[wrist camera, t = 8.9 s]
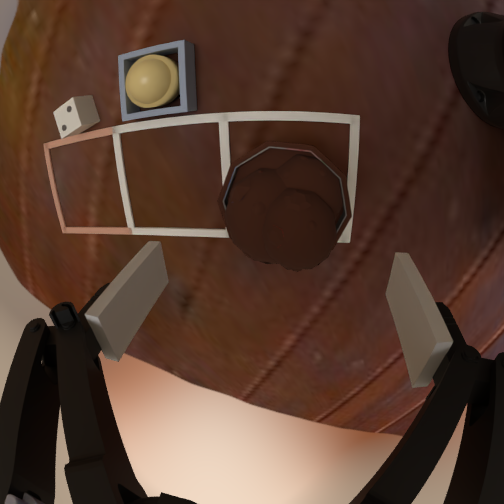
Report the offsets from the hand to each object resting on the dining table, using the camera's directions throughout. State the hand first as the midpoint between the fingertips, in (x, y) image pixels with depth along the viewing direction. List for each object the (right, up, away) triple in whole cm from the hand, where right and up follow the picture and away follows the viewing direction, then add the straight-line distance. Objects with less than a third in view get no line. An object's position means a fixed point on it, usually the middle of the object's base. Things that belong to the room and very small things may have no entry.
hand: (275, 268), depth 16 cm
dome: (-11, +20, +12) cm, 26 cm away
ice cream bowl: (+3, +9, +16) cm, 19 cm away
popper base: (-11, +20, +12) cm, 26 cm away
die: (-23, +19, +15) cm, 34 cm away
